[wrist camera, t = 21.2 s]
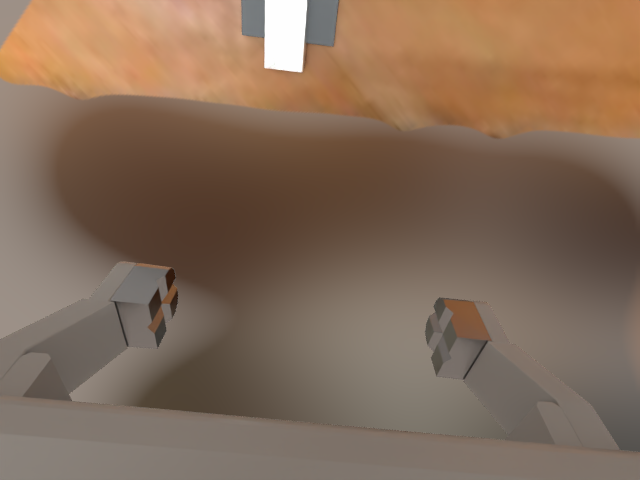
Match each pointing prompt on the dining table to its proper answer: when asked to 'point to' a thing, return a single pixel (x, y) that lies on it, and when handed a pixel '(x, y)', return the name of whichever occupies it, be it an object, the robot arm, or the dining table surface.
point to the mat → (318, 20)
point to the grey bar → (286, 34)
